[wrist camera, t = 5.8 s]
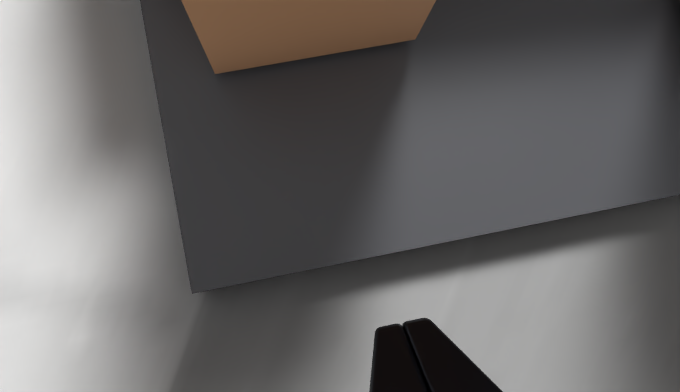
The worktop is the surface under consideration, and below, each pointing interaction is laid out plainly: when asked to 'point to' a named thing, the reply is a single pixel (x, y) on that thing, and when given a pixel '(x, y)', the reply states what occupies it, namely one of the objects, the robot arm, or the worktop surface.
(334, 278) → the worktop surface
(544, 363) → the worktop surface
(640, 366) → the worktop surface
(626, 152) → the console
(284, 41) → the tan rectangular block
